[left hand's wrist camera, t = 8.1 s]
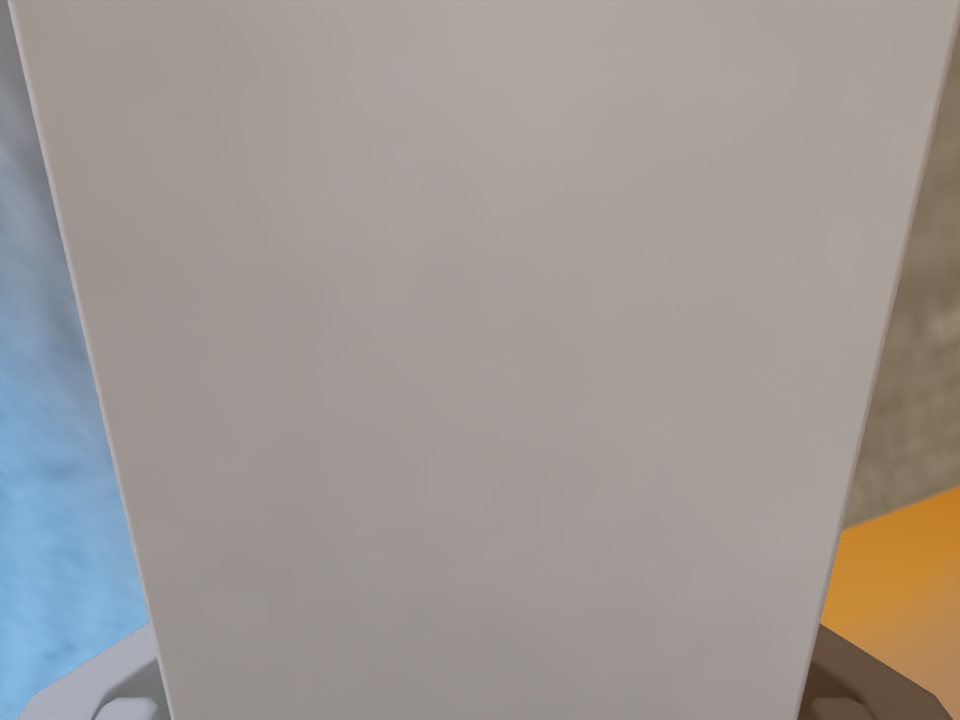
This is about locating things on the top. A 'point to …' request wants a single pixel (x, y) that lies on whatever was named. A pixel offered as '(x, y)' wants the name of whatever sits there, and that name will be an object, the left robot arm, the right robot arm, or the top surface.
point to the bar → (485, 334)
